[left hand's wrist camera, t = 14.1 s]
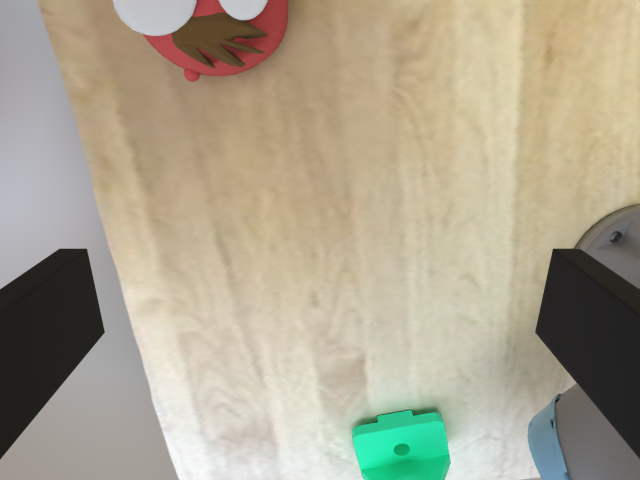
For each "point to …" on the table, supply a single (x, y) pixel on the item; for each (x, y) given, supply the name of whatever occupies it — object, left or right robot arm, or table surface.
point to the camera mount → (403, 447)
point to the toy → (209, 31)
